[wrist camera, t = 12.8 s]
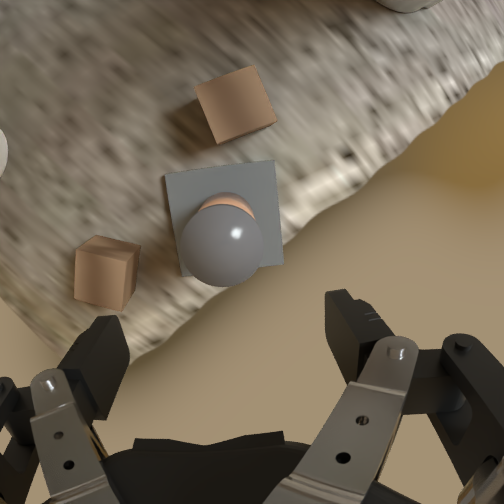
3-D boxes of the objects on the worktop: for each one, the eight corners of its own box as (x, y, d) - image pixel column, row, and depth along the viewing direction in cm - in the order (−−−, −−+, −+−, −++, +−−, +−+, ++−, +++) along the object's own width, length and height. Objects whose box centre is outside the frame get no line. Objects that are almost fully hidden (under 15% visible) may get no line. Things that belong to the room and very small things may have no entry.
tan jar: (251, 186, 29) (258, 200, 20) (259, 244, 30) (268, 280, 22) (191, 195, 29) (173, 213, 20) (201, 252, 30) (188, 291, 22)
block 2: (250, 78, 27) (254, 64, 22) (269, 125, 28) (277, 120, 23) (199, 97, 27) (193, 87, 22) (219, 145, 28) (216, 143, 24)
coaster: (273, 159, 29) (274, 160, 28) (282, 261, 32) (283, 264, 31) (166, 173, 29) (164, 174, 28) (183, 273, 32) (182, 276, 31)
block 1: (141, 245, 31) (126, 261, 26) (135, 289, 32) (121, 311, 27) (96, 234, 30) (76, 249, 25) (92, 278, 31) (74, 298, 27)
